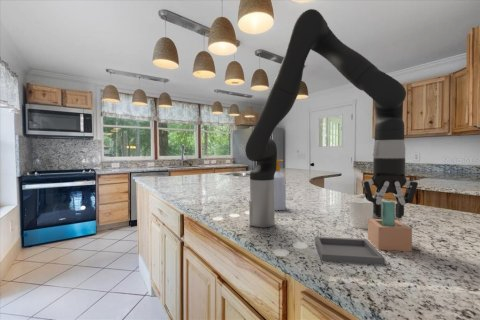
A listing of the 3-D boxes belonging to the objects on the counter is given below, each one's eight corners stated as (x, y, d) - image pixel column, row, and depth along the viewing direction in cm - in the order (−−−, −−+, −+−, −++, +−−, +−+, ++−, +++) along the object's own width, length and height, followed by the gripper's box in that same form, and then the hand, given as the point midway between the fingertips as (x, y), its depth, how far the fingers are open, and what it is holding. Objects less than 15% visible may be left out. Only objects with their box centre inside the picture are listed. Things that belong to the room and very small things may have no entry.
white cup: (377, 232, 79) (377, 203, 78) (351, 231, 80) (351, 202, 80) (369, 225, 86) (369, 198, 86) (346, 224, 88) (346, 197, 88)
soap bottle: (275, 212, 107) (275, 160, 106) (264, 207, 116) (263, 159, 115) (290, 209, 111) (290, 159, 110) (278, 205, 119) (278, 159, 119)
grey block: (362, 218, 95) (362, 197, 95) (349, 210, 108) (349, 192, 108) (389, 218, 95) (389, 197, 94) (372, 210, 108) (372, 192, 107)
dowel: (384, 246, 65) (384, 203, 65) (380, 241, 68) (380, 200, 68) (396, 246, 65) (396, 203, 64) (391, 242, 67) (391, 201, 67)
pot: (378, 252, 63) (378, 227, 63) (367, 241, 71) (367, 218, 71) (411, 254, 62) (411, 228, 61) (396, 243, 70) (397, 219, 69)
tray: (321, 264, 57) (321, 254, 57) (315, 245, 69) (315, 236, 69) (384, 268, 55) (384, 258, 55) (366, 247, 66) (366, 239, 66)
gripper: (365, 157, 63) (365, 220, 64) (425, 156, 60) (424, 222, 61) (357, 156, 70) (356, 212, 71) (410, 156, 68) (409, 214, 68)
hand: (388, 216), depth 66 cm, fingers open, 4 cm apart
